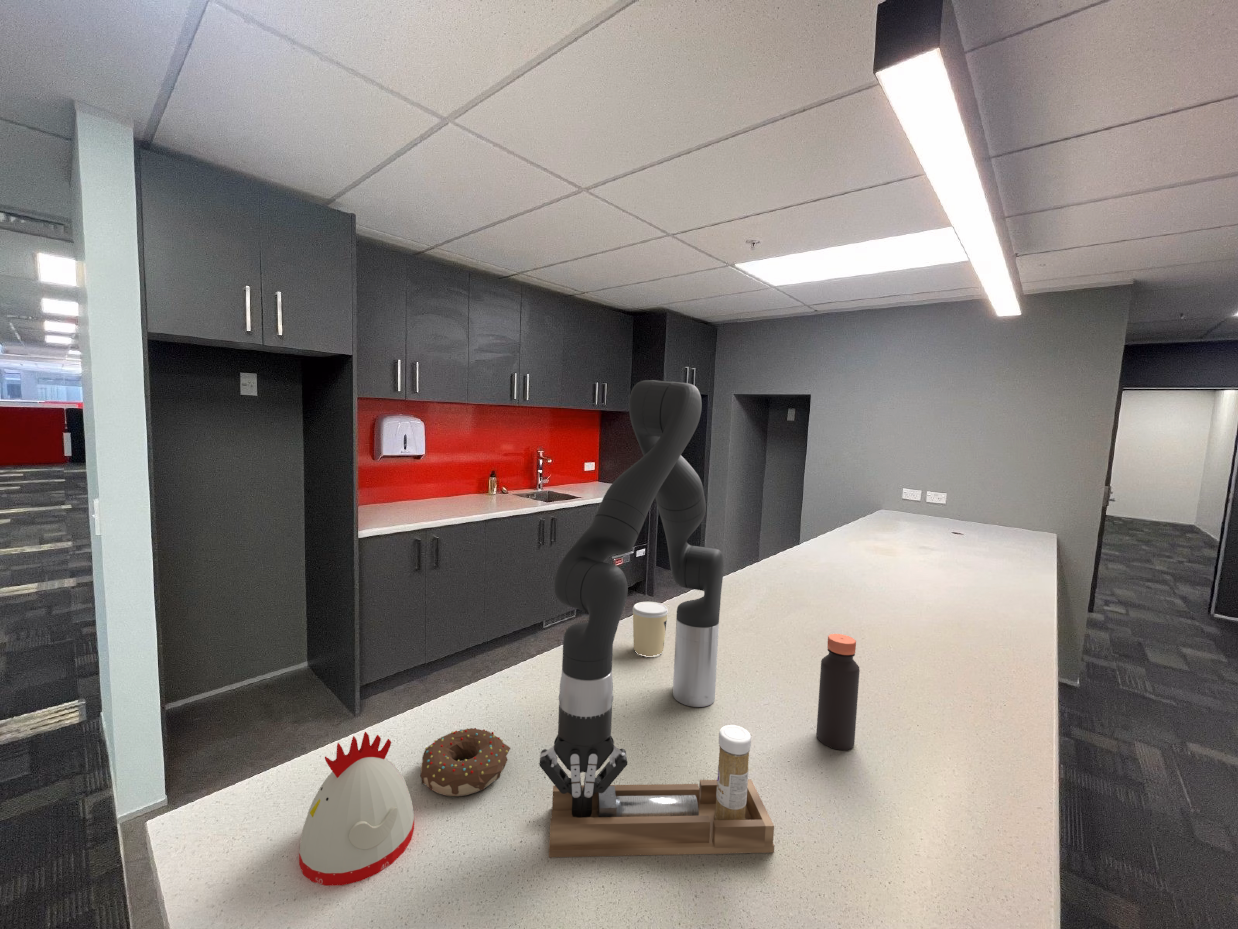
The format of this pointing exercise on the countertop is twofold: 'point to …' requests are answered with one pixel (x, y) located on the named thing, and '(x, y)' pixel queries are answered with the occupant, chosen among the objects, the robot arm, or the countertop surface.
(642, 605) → the coffee cup
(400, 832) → the kitchen timer
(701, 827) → the tray
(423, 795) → the countertop surface
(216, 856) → the countertop surface
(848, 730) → the vinegar
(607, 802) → the shaft
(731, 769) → the sprinkles bottle
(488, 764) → the donut
